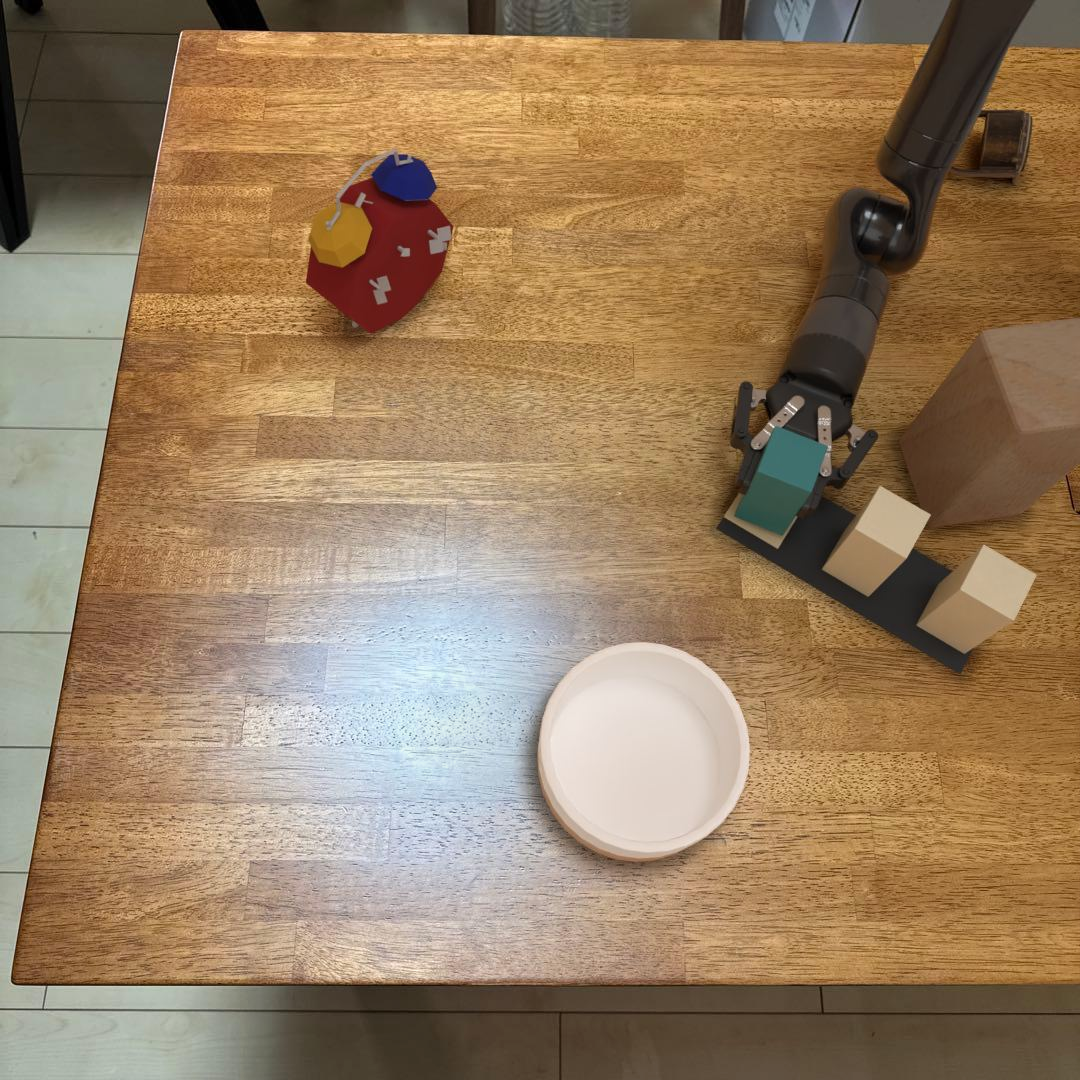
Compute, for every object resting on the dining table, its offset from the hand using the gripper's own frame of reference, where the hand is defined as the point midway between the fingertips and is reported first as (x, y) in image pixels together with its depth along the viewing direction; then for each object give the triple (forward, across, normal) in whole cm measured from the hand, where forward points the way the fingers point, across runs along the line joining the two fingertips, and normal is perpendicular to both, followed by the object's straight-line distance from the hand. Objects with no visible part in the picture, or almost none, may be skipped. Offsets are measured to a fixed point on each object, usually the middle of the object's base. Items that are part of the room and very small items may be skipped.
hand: (773, 501), depth 92 cm
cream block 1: (-1, +10, +7) cm, 12 cm away
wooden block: (-14, +17, +8) cm, 23 cm away
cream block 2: (+1, +20, +7) cm, 21 cm away
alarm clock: (-9, -43, +8) cm, 45 cm away
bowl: (+25, -3, +7) cm, 27 cm away
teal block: (-3, 0, +6) cm, 7 cm away
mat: (-1, +10, +7) cm, 12 cm away
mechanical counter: (-55, +7, +8) cm, 56 cm away
